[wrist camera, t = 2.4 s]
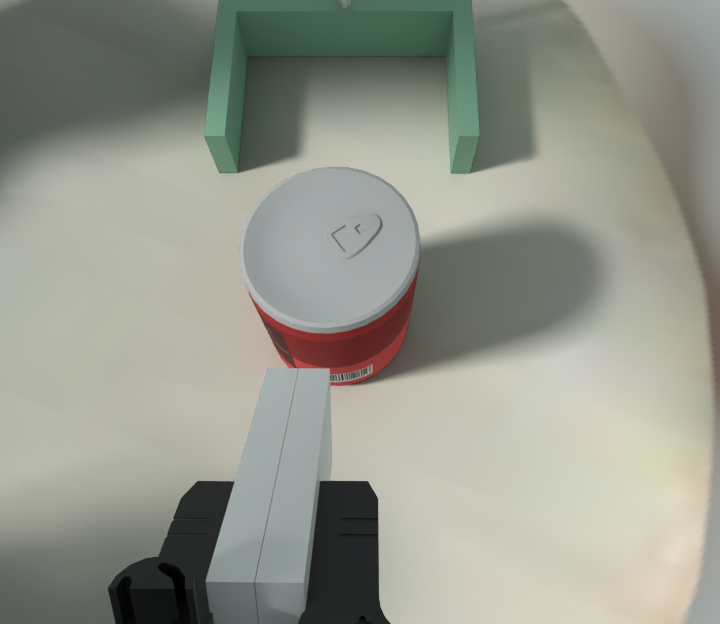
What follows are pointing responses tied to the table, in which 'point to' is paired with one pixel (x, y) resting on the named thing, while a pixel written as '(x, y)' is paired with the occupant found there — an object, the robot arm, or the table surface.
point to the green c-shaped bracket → (341, 38)
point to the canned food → (333, 270)
